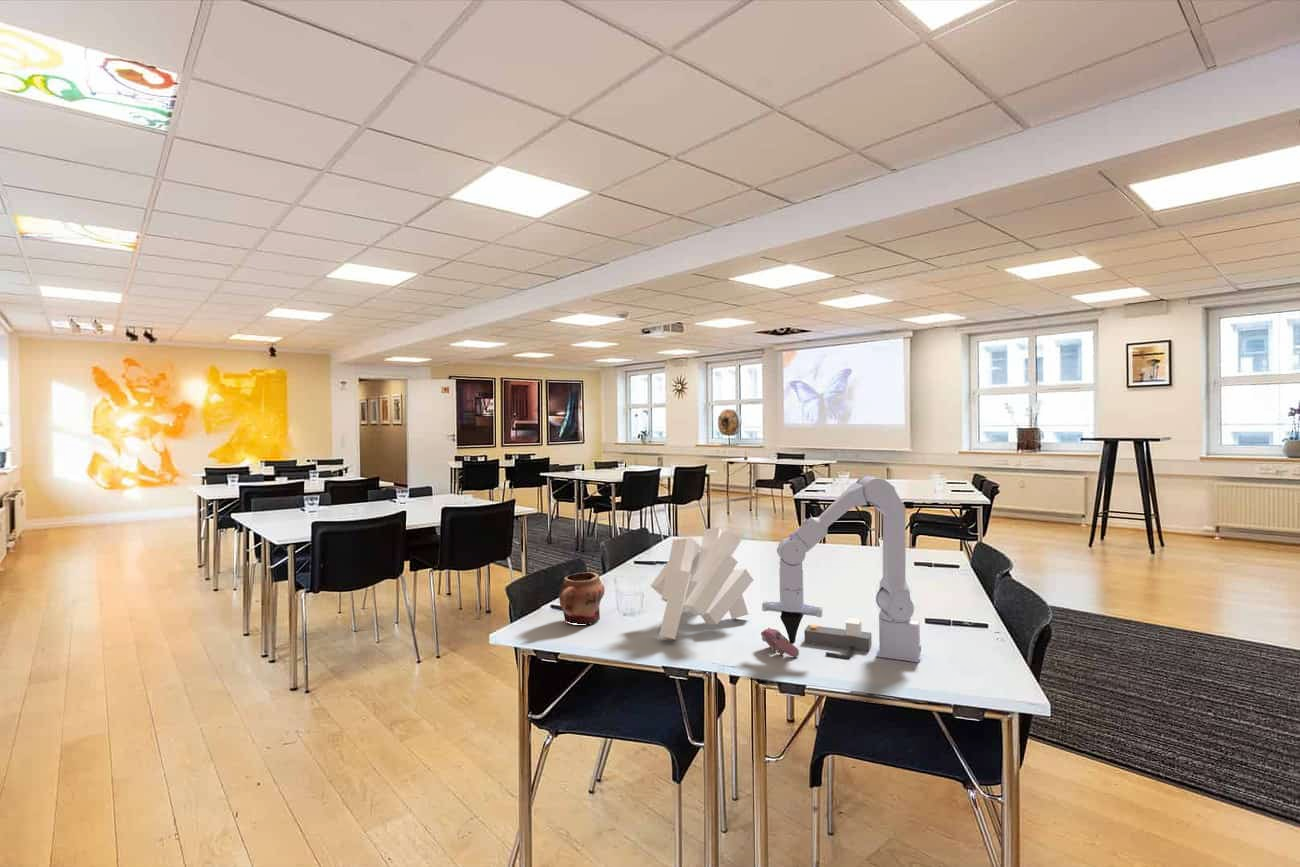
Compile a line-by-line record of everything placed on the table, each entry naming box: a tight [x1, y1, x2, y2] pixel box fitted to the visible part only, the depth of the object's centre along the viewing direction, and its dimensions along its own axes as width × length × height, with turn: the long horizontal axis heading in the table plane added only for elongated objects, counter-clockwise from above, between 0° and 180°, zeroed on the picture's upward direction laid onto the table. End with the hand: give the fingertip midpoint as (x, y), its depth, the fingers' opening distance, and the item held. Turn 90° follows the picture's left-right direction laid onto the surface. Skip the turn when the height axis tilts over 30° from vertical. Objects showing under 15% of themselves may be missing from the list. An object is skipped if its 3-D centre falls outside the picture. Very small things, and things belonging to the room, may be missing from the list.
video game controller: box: [760, 627, 800, 658], centre depth 154 cm, size 10×5×7 cm, turn 21°
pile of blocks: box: [650, 527, 754, 640], centre depth 178 cm, size 35×30×35 cm
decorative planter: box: [558, 571, 605, 625], centre depth 180 cm, size 20×12×14 cm, turn 160°
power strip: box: [803, 617, 873, 660], centre depth 156 cm, size 16×12×6 cm
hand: (792, 642), depth 153 cm, fingers closed
